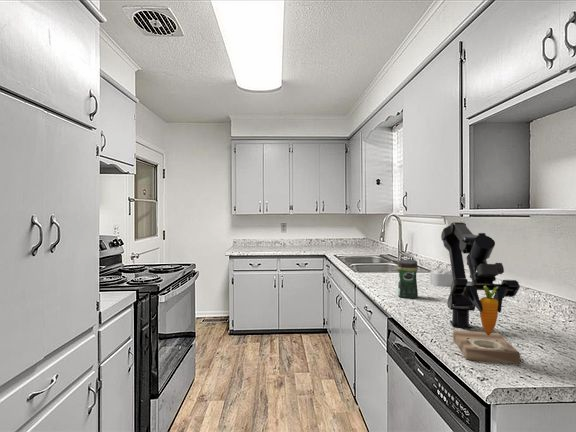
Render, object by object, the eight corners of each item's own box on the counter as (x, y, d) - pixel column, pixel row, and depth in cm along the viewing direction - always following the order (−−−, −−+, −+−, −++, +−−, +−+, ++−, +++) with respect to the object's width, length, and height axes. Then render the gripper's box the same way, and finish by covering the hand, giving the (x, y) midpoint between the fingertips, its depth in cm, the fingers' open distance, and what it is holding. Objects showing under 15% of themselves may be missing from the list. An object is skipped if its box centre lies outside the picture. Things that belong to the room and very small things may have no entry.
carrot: (496, 333, 116) (497, 284, 116) (498, 339, 111) (499, 288, 111) (478, 331, 118) (479, 283, 117) (479, 336, 113) (480, 286, 113)
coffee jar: (416, 295, 193) (417, 259, 193) (418, 299, 186) (419, 261, 185) (396, 294, 195) (397, 258, 195) (398, 298, 188) (398, 260, 187)
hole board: (453, 339, 128) (453, 330, 128) (498, 342, 125) (498, 333, 125) (466, 359, 110) (466, 349, 110) (519, 364, 107) (519, 353, 107)
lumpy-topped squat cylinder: (428, 283, 228) (428, 268, 227) (450, 283, 228) (450, 268, 227) (435, 286, 217) (435, 271, 217) (458, 286, 217) (458, 271, 217)
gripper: (453, 252, 119) (463, 295, 109) (518, 254, 116) (534, 298, 106) (446, 273, 127) (455, 315, 117) (506, 275, 124) (521, 318, 114)
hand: (490, 311), depth 113 cm, fingers closed on carrot, 5 cm apart
